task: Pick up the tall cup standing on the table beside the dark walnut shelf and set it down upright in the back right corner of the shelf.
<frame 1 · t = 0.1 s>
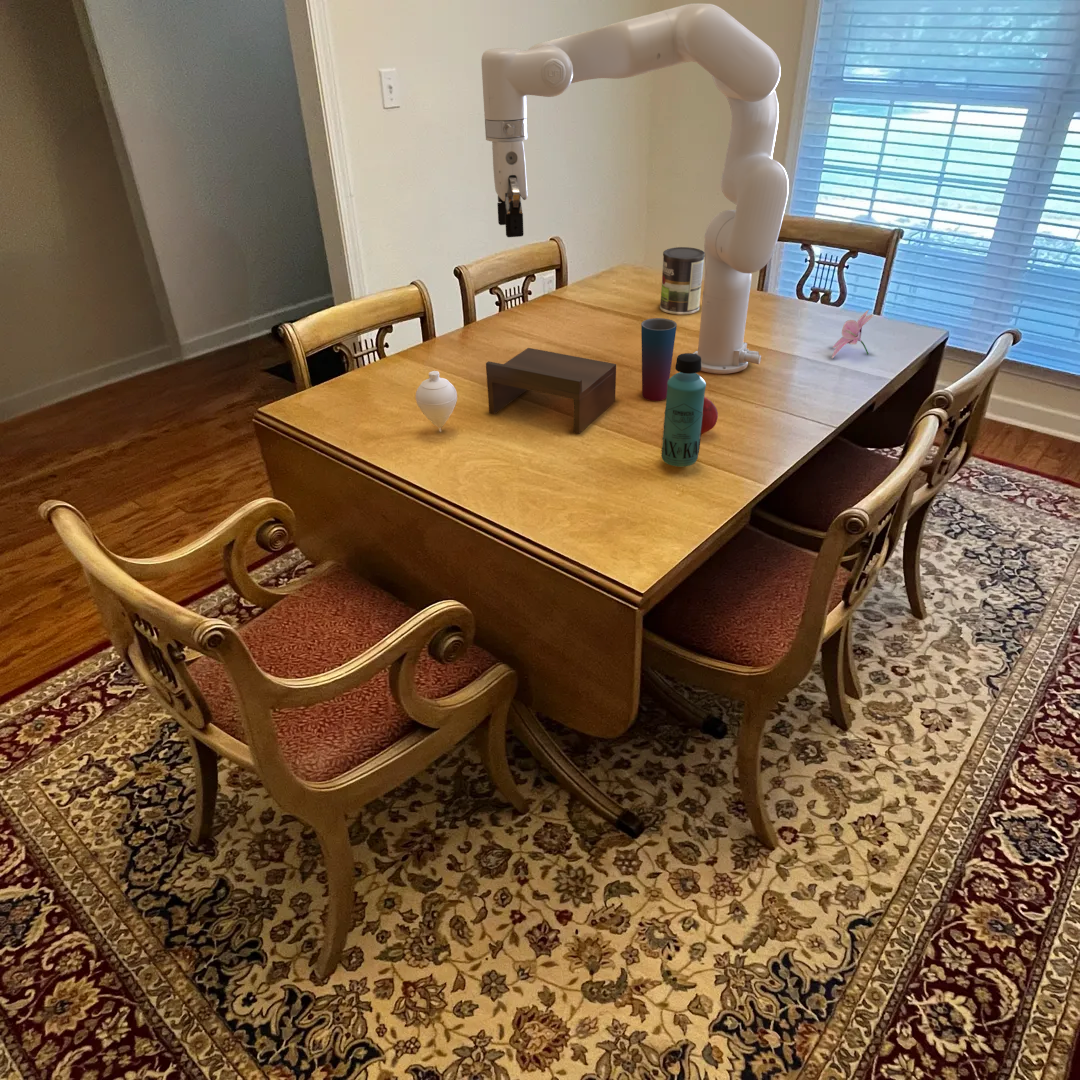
hand: (510, 230, 151), 31 cm above the table, tool pointing down, fingers open, 9 cm apart
coffee can: (679, 309, 206), on the table
cup: (654, 396, 162), on the table
shelf: (552, 407, 159), on the table
lily: (848, 354, 178), on the table
spinning top: (440, 432, 151), on the table
beverage bottle: (679, 466, 138), on the table
onion: (699, 435, 148), on the table
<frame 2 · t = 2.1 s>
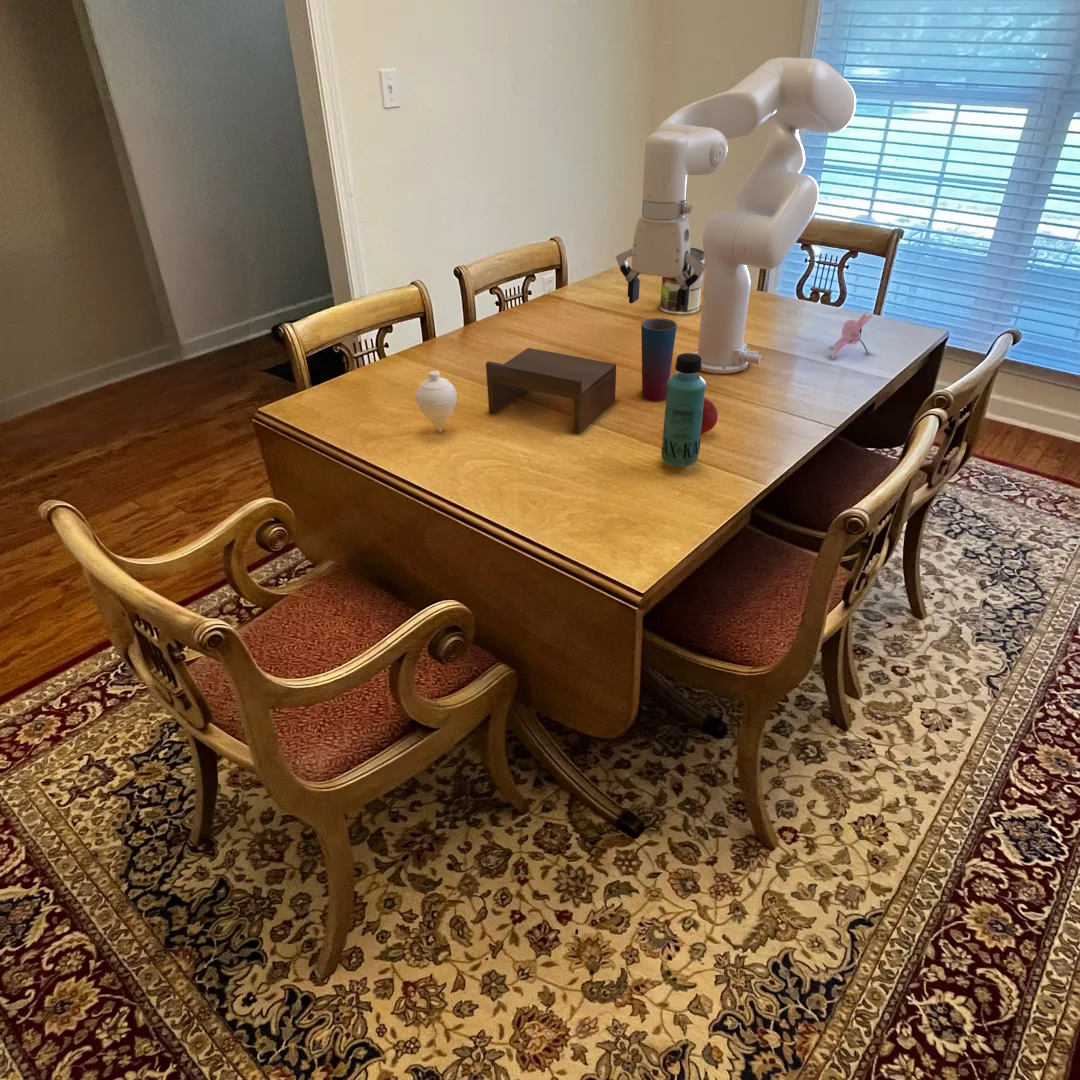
hand: (657, 304, 151), 19 cm above the table, tool pointing down, fingers open, 9 cm apart
nothing on the table moved.
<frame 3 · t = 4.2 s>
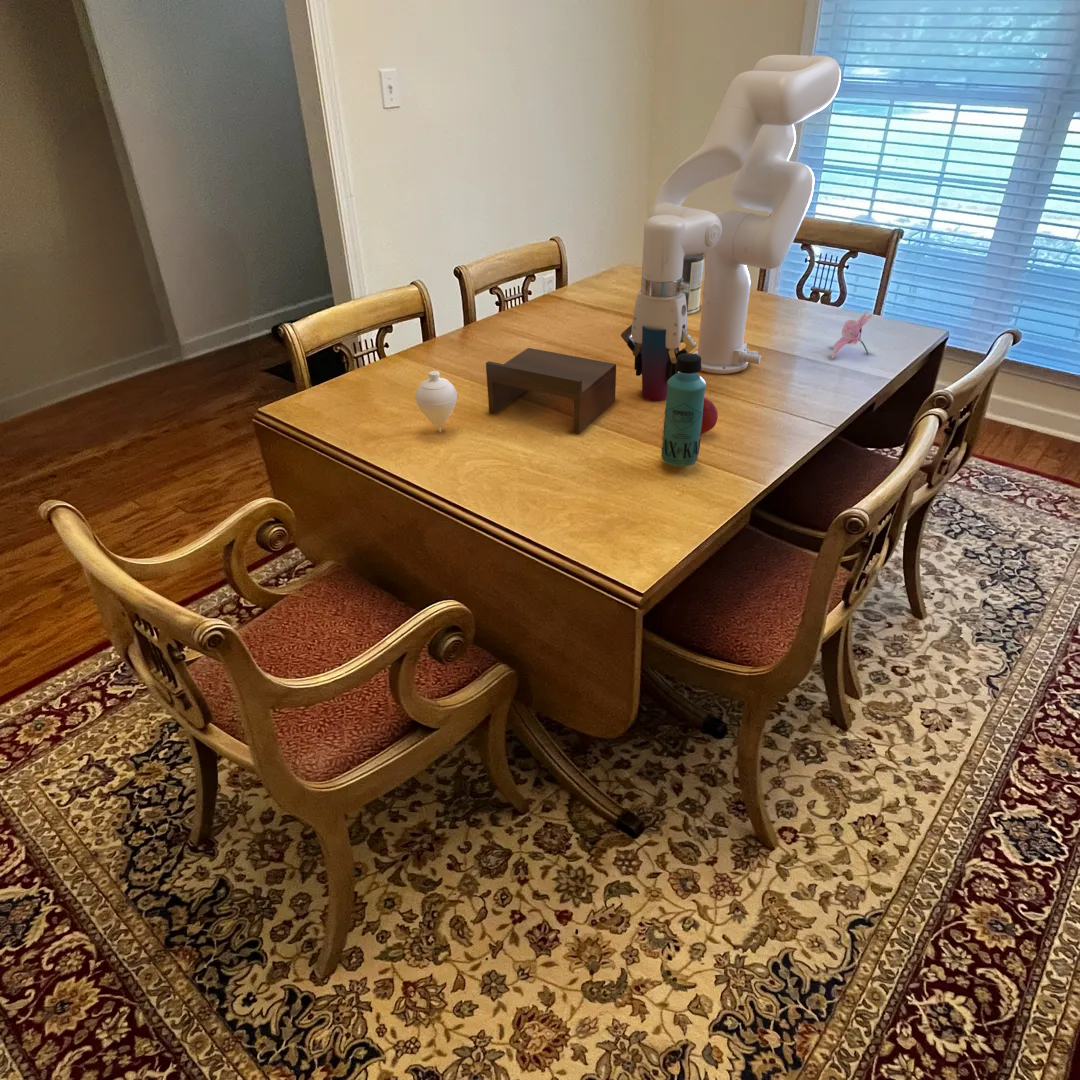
hand: (655, 375, 159), 4 cm above the table, tool pointing down, fingers closed on cup, 6 cm apart
cup: (654, 396, 162), on the table, touching gripper
everything else where it was.
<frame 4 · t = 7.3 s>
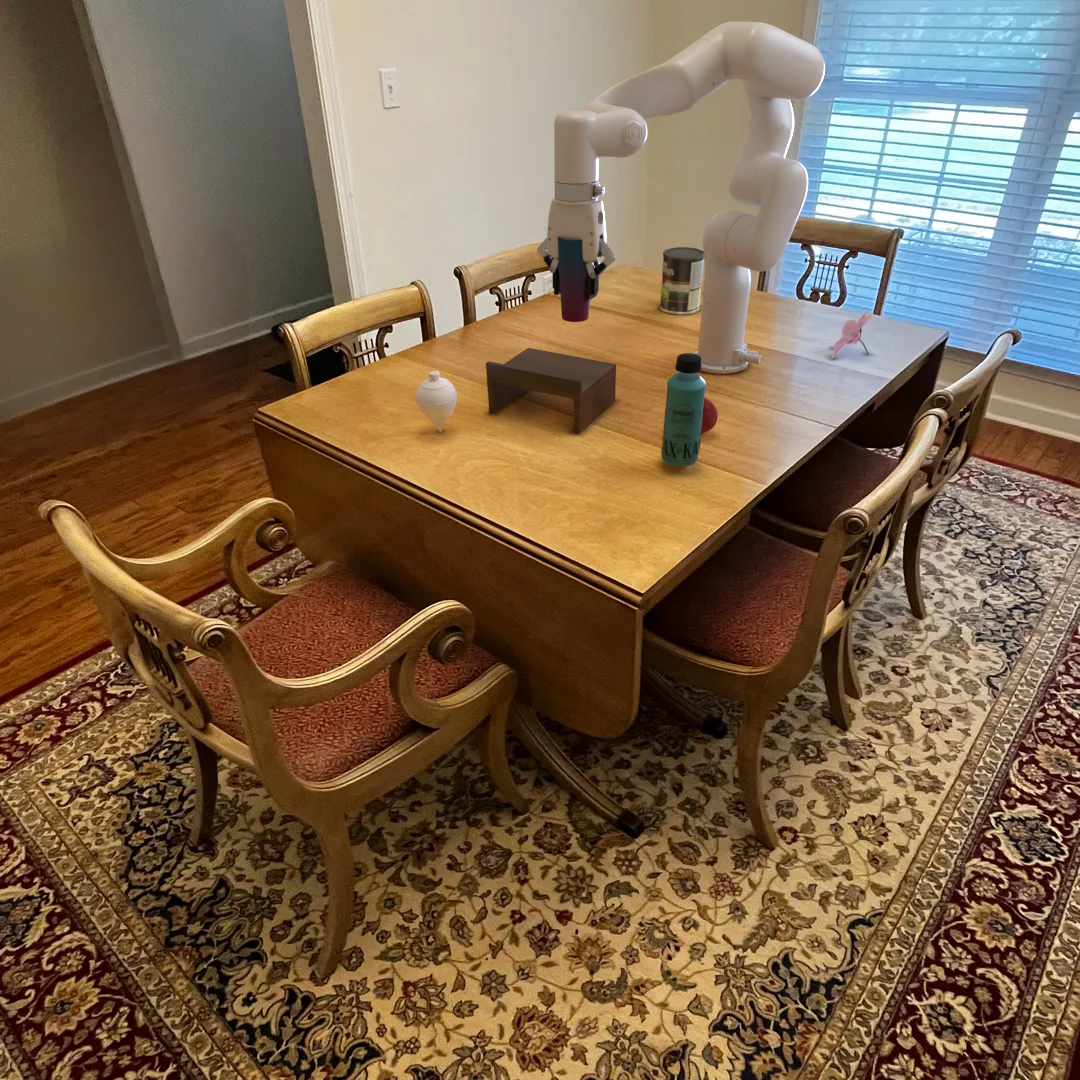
hand: (575, 294, 148), 22 cm above the table, tool pointing down, fingers closed on cup, 6 cm apart
cup: (575, 318, 150), point 17 cm above the table, touching gripper
everything else where it was.
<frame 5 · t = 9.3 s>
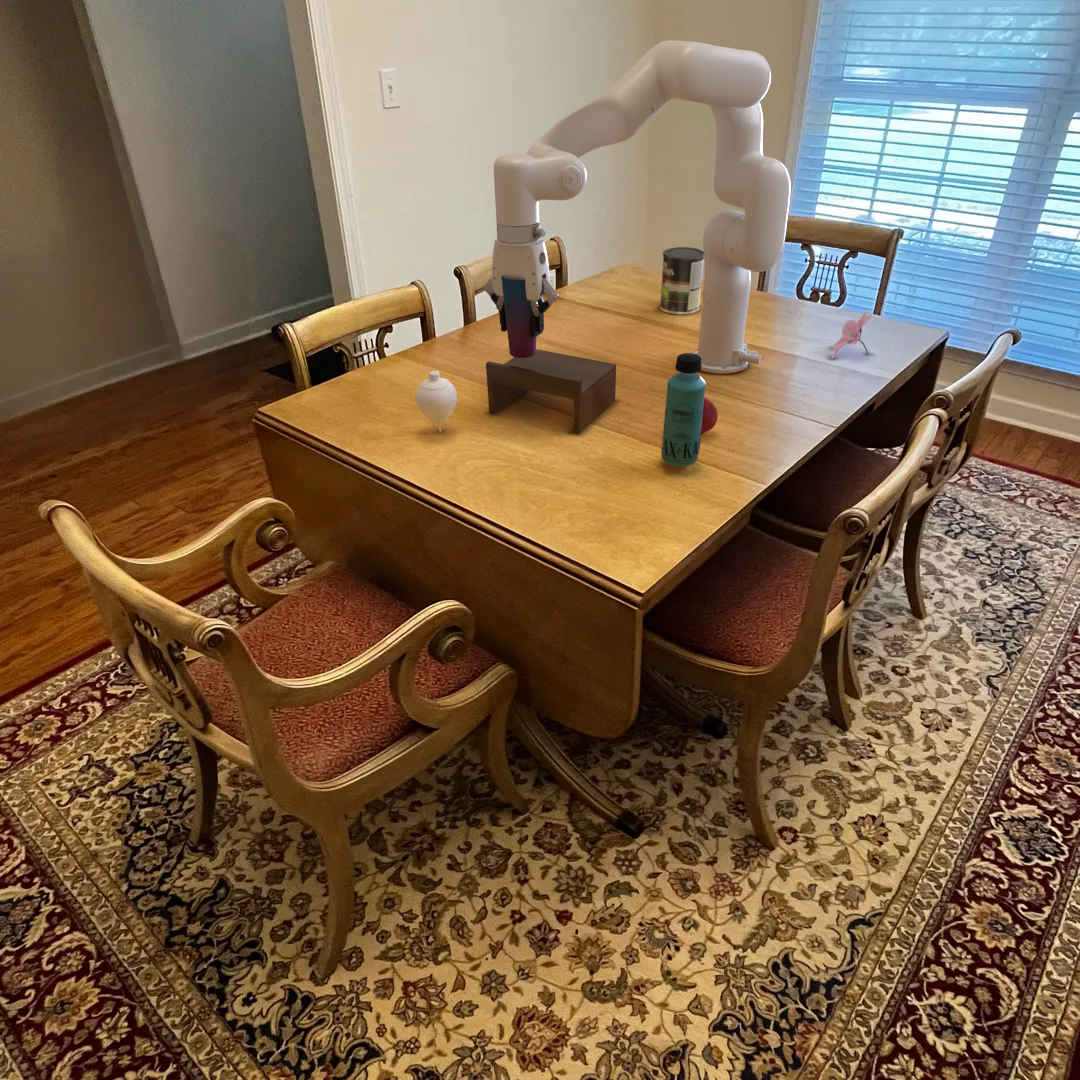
hand: (522, 331, 150), 16 cm above the table, tool pointing down, fingers closed on cup, 6 cm apart
cup: (522, 354, 153), point 11 cm above the table, touching gripper
everything else where it was.
when the fingers open (12 cm above the table, at t = 10.7 s): cup stays where it is, resting on shelf.
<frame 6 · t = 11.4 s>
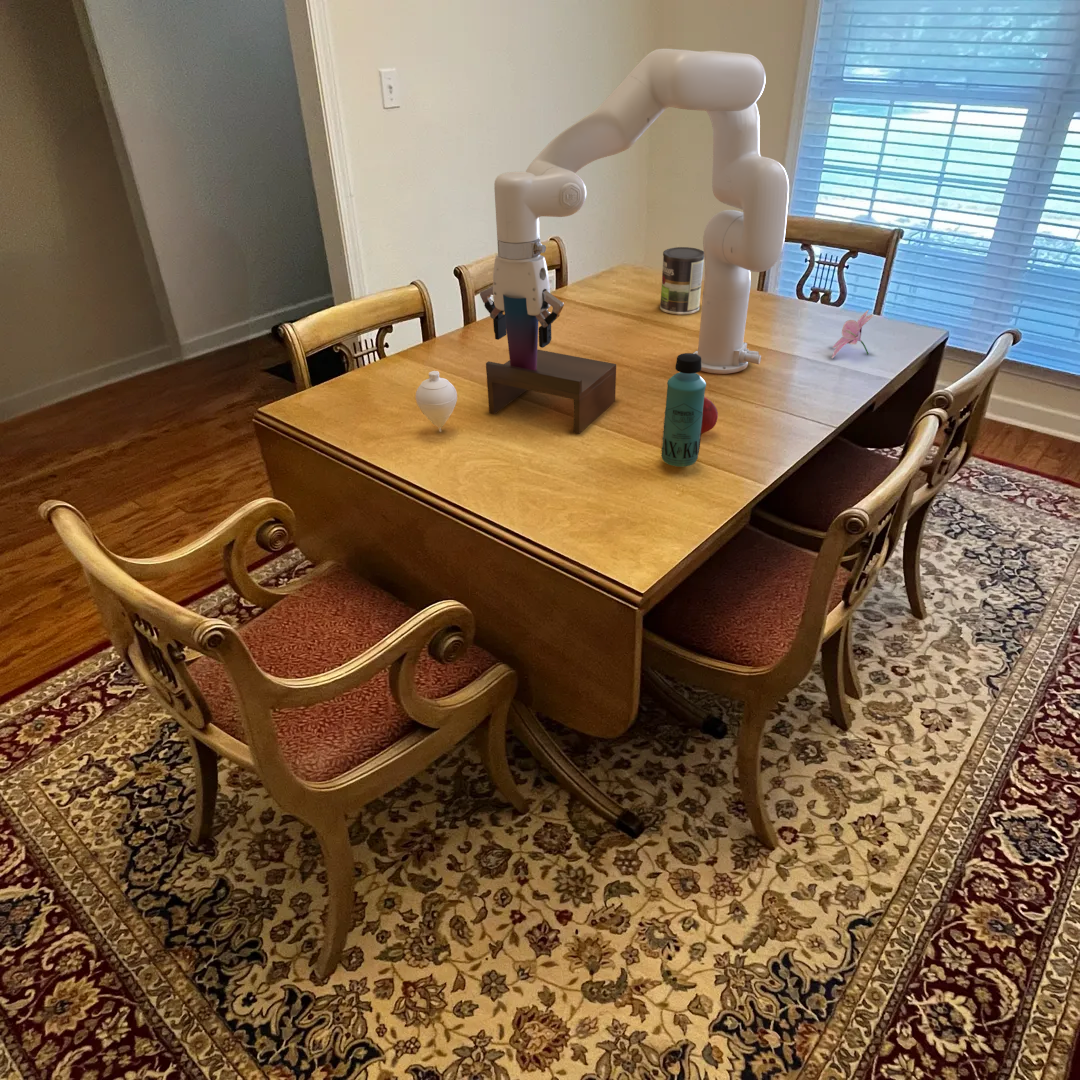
hand: (522, 341, 151), 14 cm above the table, tool pointing down, fingers open, 9 cm apart
cup: (523, 370, 154), point 8 cm above the table, touching shelf
everything else where it was.
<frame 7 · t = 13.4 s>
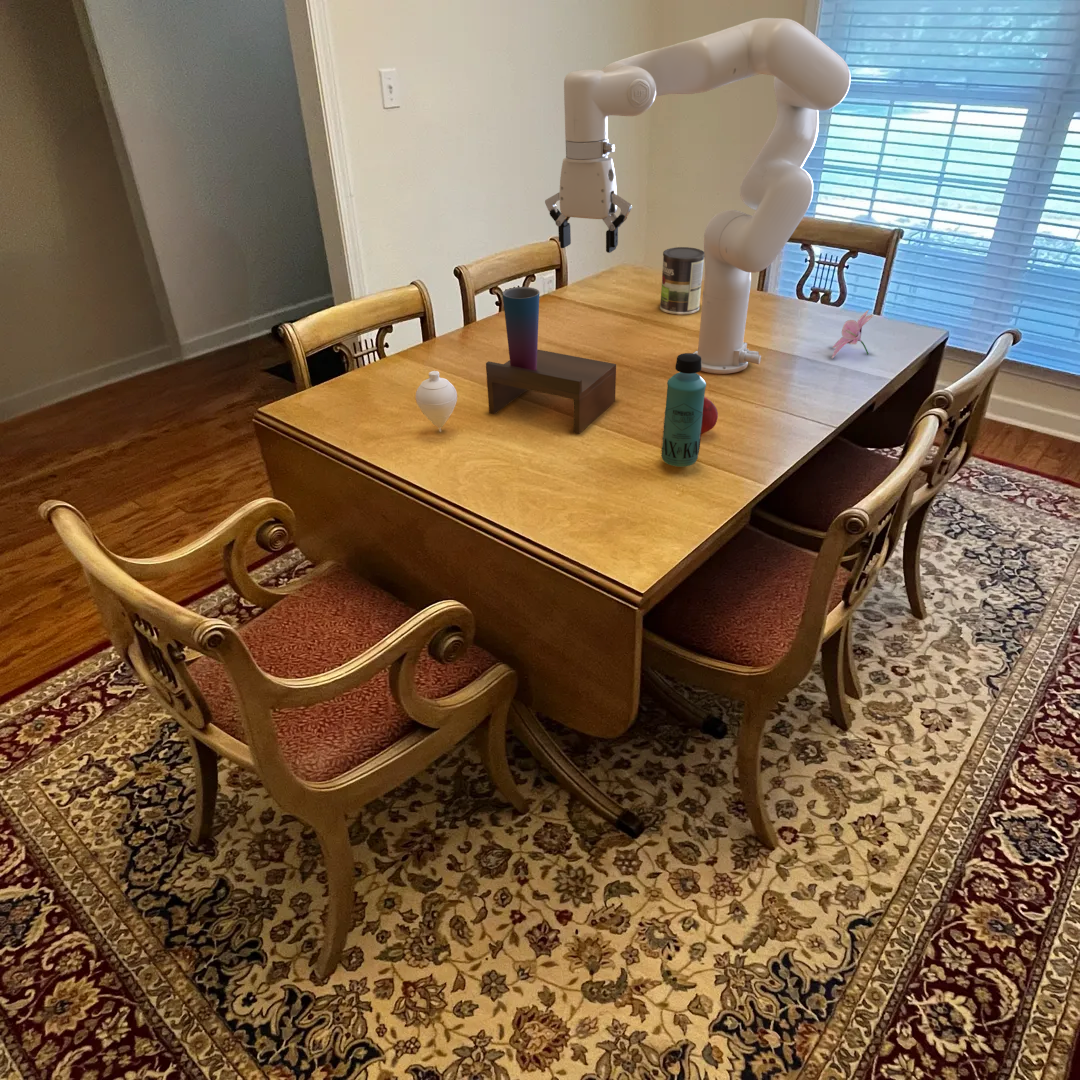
hand: (588, 248, 152), 28 cm above the table, tool pointing down, fingers open, 9 cm apart
nothing on the table moved.
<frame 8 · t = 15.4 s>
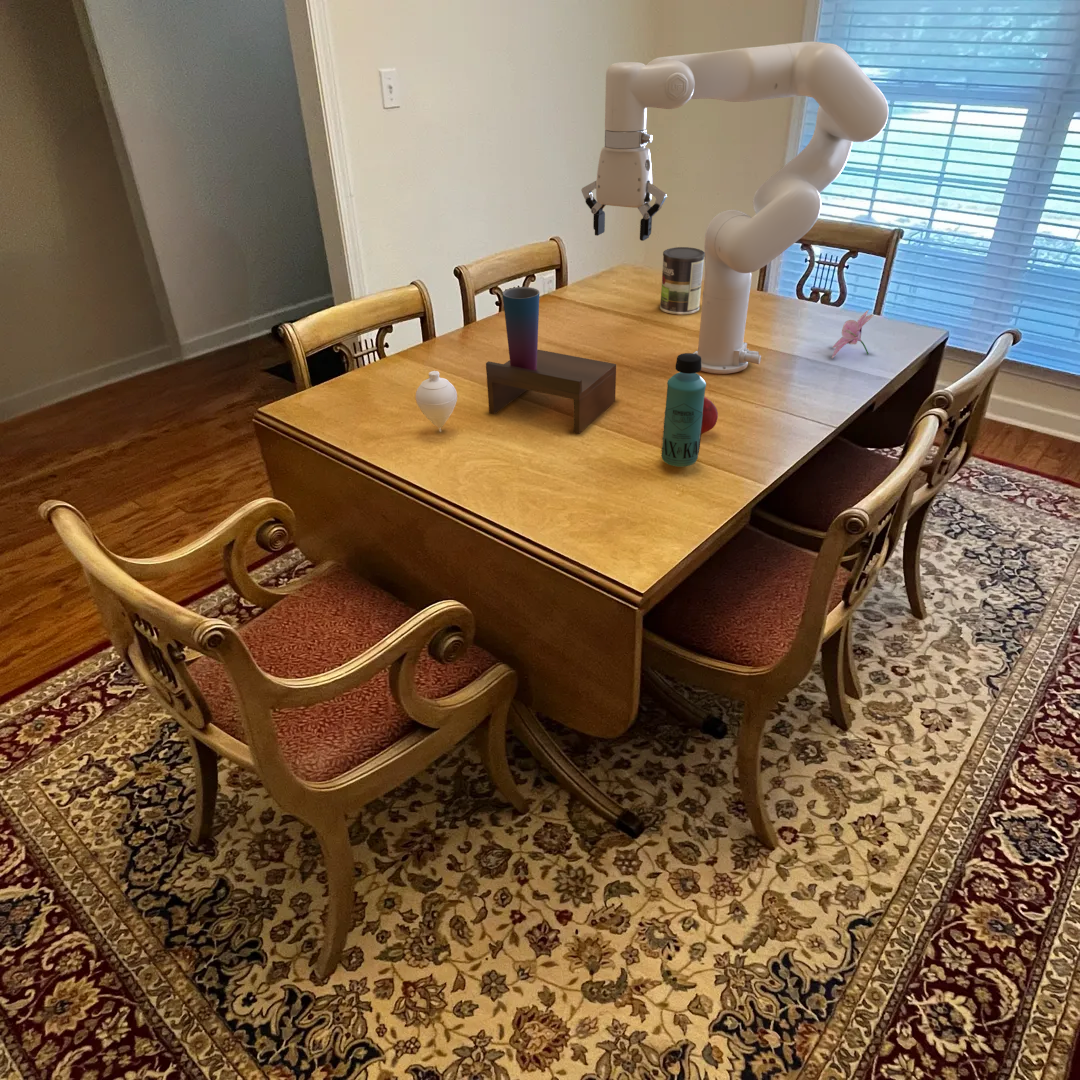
hand: (621, 236, 157), 28 cm above the table, tool pointing down, fingers open, 9 cm apart
nothing on the table moved.
at the end: cup inside the target area on the shelf (1.3 cm from its centre), point 7.8 cm above the shelf's base; cup tilted 0° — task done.
